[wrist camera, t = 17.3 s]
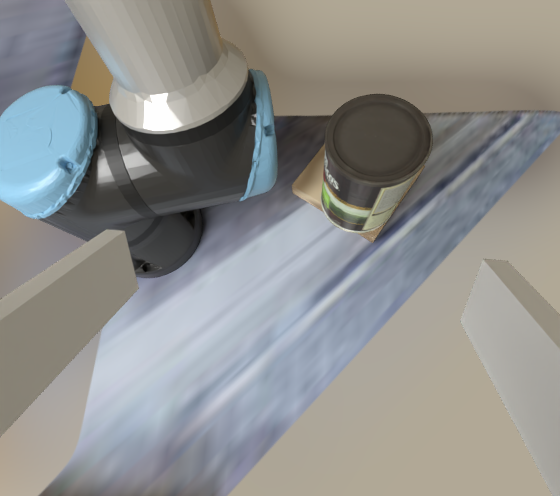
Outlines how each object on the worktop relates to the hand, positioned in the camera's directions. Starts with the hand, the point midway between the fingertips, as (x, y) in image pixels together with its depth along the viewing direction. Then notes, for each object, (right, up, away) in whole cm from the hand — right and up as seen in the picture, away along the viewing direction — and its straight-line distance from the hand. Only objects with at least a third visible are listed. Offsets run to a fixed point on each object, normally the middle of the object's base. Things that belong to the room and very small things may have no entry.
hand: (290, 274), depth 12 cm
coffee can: (+11, +8, +32) cm, 35 cm away
